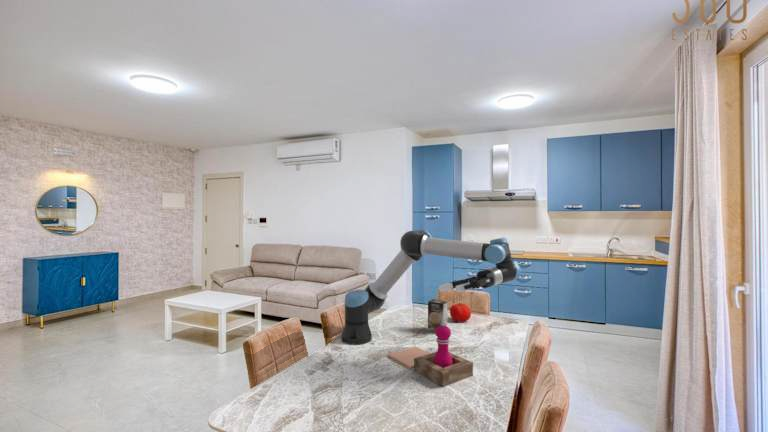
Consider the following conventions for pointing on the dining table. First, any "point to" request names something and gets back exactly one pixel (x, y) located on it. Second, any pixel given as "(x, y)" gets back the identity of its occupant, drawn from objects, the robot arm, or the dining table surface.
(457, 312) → the tomato
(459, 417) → the dining table surface
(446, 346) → the pepper mill
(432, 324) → the coffee box
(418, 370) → the walnut holder
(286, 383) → the dining table surface
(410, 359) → the terracotta tile
